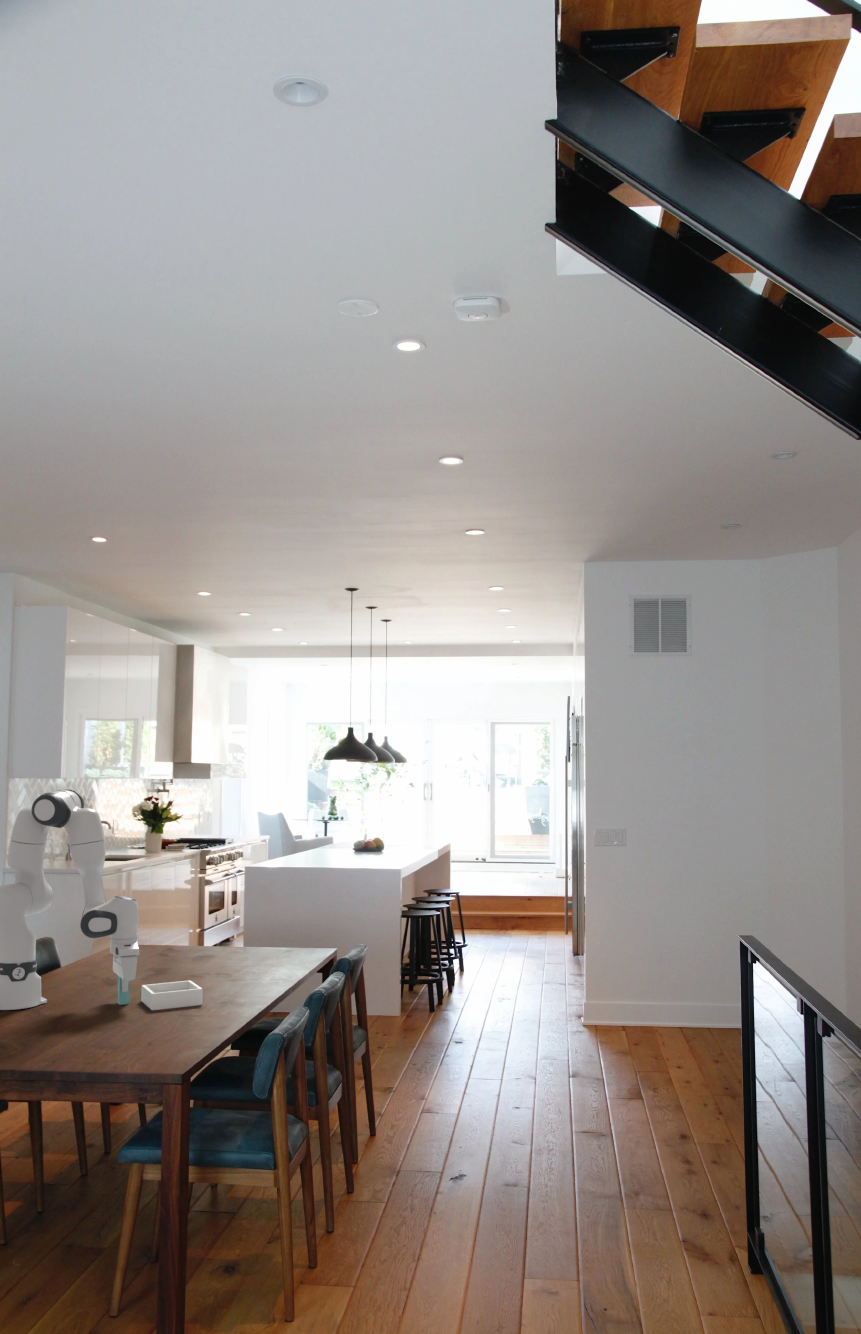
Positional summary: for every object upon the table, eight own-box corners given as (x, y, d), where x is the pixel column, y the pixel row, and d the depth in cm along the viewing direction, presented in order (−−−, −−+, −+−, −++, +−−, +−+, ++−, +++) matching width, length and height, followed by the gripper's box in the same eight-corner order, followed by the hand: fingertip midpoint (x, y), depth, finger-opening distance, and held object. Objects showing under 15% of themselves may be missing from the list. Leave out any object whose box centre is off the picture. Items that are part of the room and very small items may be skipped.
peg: (117, 1003, 335) (118, 971, 336) (127, 1002, 336) (127, 970, 337) (119, 1005, 332) (119, 973, 333) (128, 1004, 334) (129, 972, 335)
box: (141, 1001, 338) (141, 985, 338) (190, 995, 345) (190, 980, 346) (151, 1010, 324) (152, 994, 324) (202, 1004, 331) (202, 988, 331)
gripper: (108, 943, 344) (107, 986, 343) (119, 952, 326) (119, 997, 324) (128, 941, 347) (127, 984, 345) (140, 950, 329) (139, 995, 327)
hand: (123, 990), depth 335 cm, fingers closed on peg, 3 cm apart
